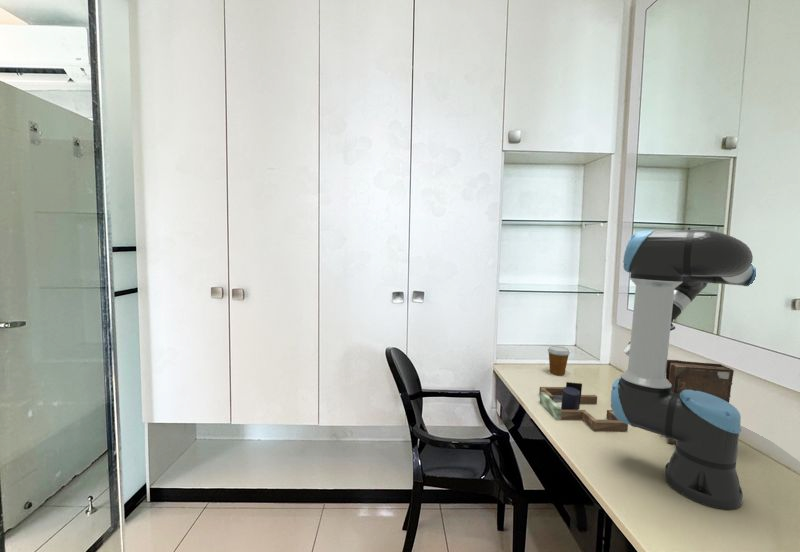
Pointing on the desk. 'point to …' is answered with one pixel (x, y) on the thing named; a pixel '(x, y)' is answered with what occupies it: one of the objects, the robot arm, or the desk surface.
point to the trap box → (555, 395)
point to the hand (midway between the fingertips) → (626, 354)
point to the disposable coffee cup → (558, 360)
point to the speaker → (571, 396)
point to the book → (699, 379)
